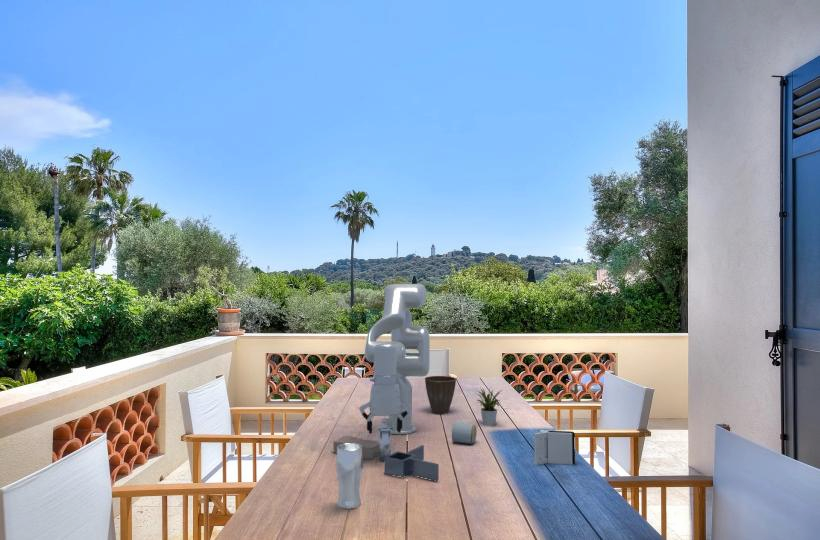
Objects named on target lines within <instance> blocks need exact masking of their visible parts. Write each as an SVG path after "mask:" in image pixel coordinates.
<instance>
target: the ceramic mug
mask: <svg viewBox="0 0 820 540" xmlns="http://www.w3.org/2000/svg"><path fill="white" fill-rule="evenodd" d="M477 431H478V430H477V426H476V425H475V424H472V423H469V422H464V421H459V420H455V421H454V422H453V424H452V428H451V440H452V442H453V443H458V444H459V443H460V444H466V445H467V444H468V445H473V444H475V442H476V439H477Z"/></svg>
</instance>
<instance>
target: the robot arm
mask: <svg viewBox="0 0 820 540" xmlns="http://www.w3.org/2000/svg"><path fill="white" fill-rule="evenodd" d="M384 298H385V299H384V306H383V313H382V317H381V318H380V319H378V320H377V321H376V322H375V323H374V324H373V325H372V327H370V329H369V331H368V333H367V336H366V341H365V348H364V356H365V359H366V360H367V361H368V362H369V363H373V366H374V367H373V376H370V377H369V382H372V383H373V384H371V389H370V396H369V401H368V402H366V403H364V404H362V405H361V406H359V407H358V409H359V411H360V413H361V415H362V417H363V418H364V419H365V420H366V430H367V431H368V433H369V434H370V435H371V434H373V421H372V419H373V418H374V417H382V416H384V417H382V420H381V423H382V424H386V425H388V426H392V431H391V435H409V434H412V433H415V432H416V431H417V430H416V429H417V427H416V426H415V425H413V387H412V384H411V382H410V381H409V380H408V377H427V376H428V374H429V372H430V356H431V355H430V342H431V341H430V333H429V330H428V329H427V328H426V327H425V326H413V325H412V324H413V322H412V321H413V314H412V312H411V311H410V309H411V308H413V309H414V308H415V309H419V308H422V307H423V306H424V304H425V302H426V300H427V289H426V287H425V285H424V284H422V283H392V284H389V285H387V286H385V288H384ZM387 333H391V334H390V337H391V339H390V340H391V341H386V340H385V341H381V340H378V339H379V338H380V337H381V336H383V335H385V334H387ZM406 350H412V351H413V350H416V351H418V352H407V351H406ZM368 408H369V413H366V411H365V410H366V409H368ZM387 416H388V417H387Z"/></svg>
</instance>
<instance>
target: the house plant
mask: <svg viewBox="0 0 820 540" xmlns="http://www.w3.org/2000/svg"><path fill="white" fill-rule="evenodd" d="M494 389H495V388H493V389H492V390H491V388H489V389H488V392H489V393H488V394H486V391H485V390H484V388H483V387H481V388H480V391H479V390H478V389H476V392H477V395H478V396H479V398H480V399H477V400H476V402H478V403H480V406H483V407H482V408H480V414H481V419H482V420H481V421H482V424H483V426H487V425H493V426H495V425H496V422H497V414H498V409H497V408H495V407H496V406H498V407H499V408H500V404H499V403H500V399H497V396H499V394H501V392H502V391H503V389H501V390H499V391H498V392H497V393H496V394H495V395H493V394H494V393H493V392H494V391H493V390H494ZM490 390H491V391H490ZM478 393H479V394H478ZM478 403H477V404H478Z"/></svg>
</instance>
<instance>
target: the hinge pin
mask: <svg viewBox="0 0 820 540" xmlns="http://www.w3.org/2000/svg"><path fill="white" fill-rule="evenodd" d="M377 431H378V442H379V457H378V461H379V462H381V463H385V457H386V456H388V455H390V454H392V451H391V450H392V449H391V448H392V434H391V431H392V426H388V425H387V424H386V425H385V424H384V425H378V426H377Z"/></svg>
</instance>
